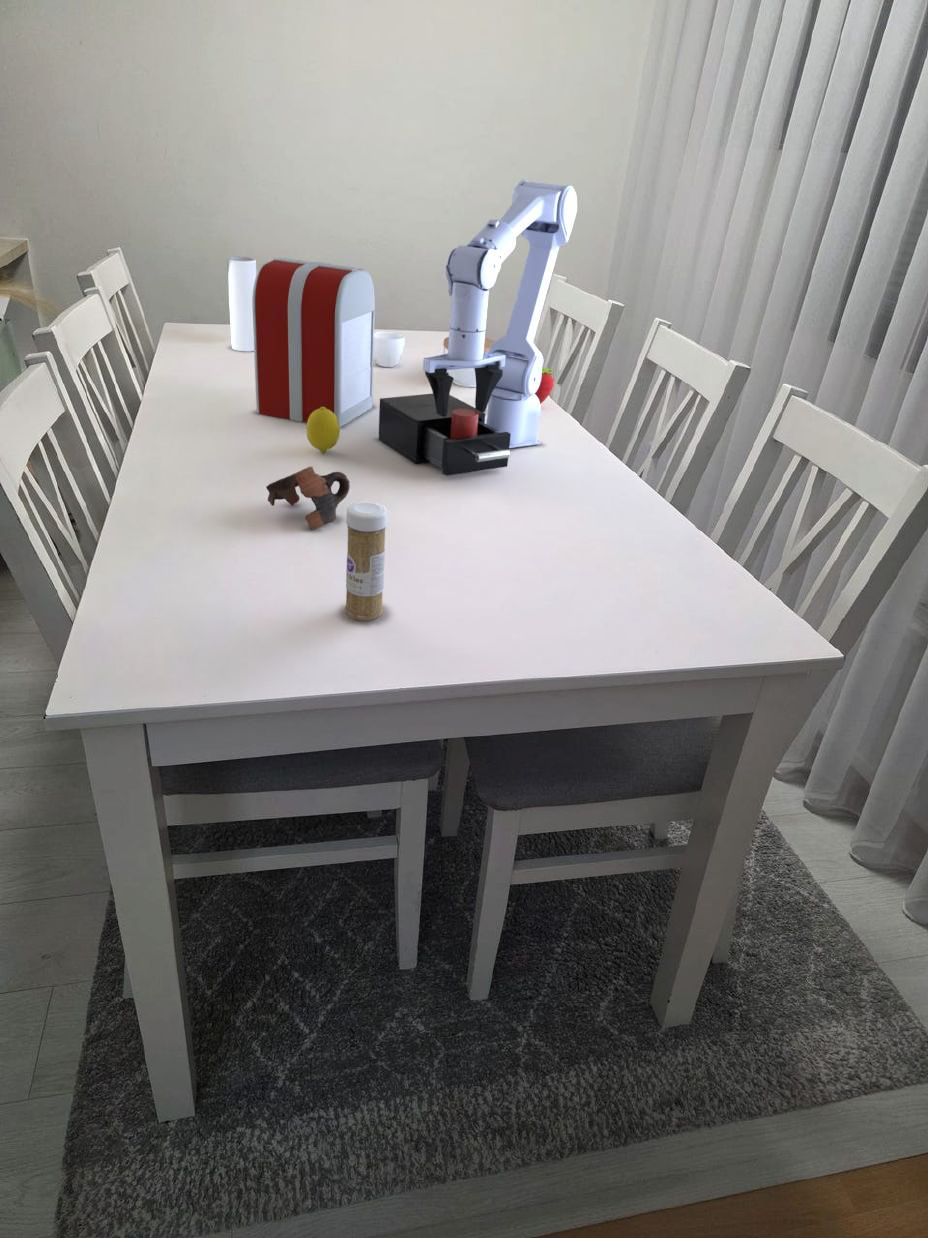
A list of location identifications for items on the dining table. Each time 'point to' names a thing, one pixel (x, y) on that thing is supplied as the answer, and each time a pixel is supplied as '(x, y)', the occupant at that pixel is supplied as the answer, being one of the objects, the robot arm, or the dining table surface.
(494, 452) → the tray drawer
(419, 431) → the warmer
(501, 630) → the dining table surface
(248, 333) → the vase
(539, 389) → the strawberry
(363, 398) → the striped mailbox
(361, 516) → the sprinkles bottle
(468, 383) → the lidded bowl
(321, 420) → the lemon
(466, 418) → the spice tin
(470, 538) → the dining table surface
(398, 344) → the cup
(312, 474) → the broken mug
